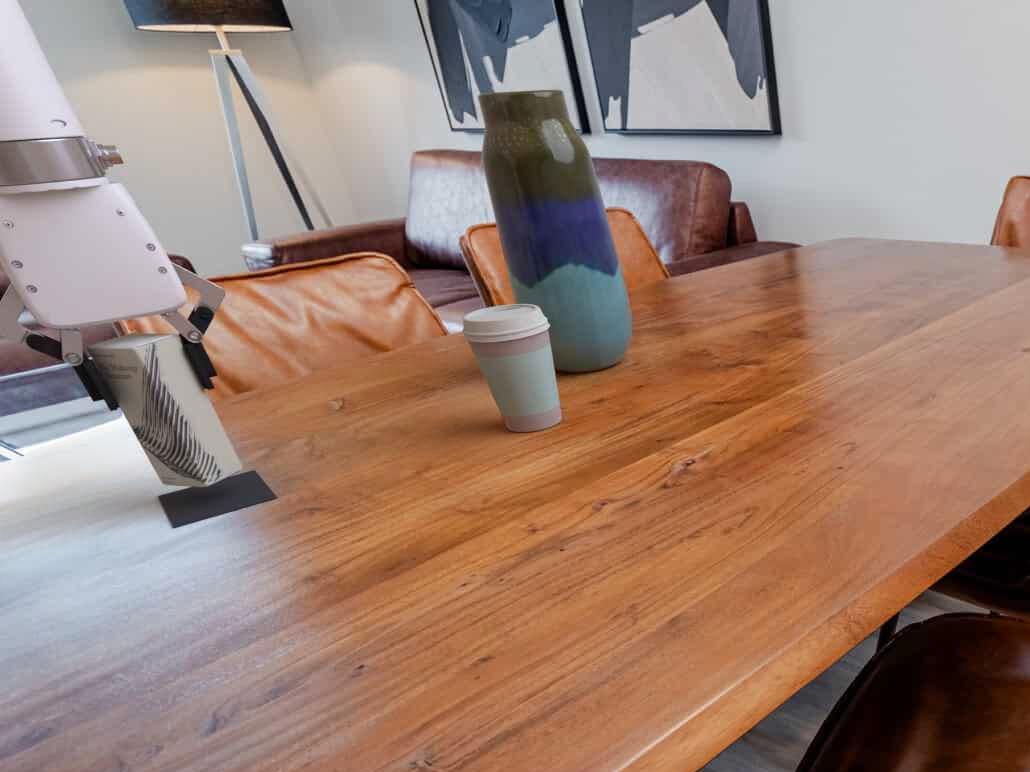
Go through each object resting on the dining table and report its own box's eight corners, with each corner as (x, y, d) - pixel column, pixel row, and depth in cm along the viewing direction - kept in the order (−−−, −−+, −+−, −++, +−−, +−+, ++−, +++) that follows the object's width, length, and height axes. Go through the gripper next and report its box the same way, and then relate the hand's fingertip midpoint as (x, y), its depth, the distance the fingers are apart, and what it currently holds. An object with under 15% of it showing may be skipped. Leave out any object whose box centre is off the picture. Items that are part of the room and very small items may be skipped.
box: (162, 487, 75) (78, 346, 68) (203, 467, 79) (128, 332, 72) (210, 488, 75) (131, 346, 68) (250, 468, 78) (178, 331, 71)
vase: (555, 387, 102) (473, 93, 86) (520, 365, 112) (440, 96, 95) (658, 362, 109) (601, 86, 93) (617, 344, 119) (559, 90, 102)
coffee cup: (584, 408, 95) (556, 300, 89) (560, 434, 88) (528, 319, 81) (510, 412, 95) (477, 305, 89) (481, 439, 88) (442, 324, 81)
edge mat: (173, 528, 72) (173, 527, 72) (157, 496, 79) (157, 496, 79) (277, 497, 77) (277, 496, 77) (254, 470, 83) (254, 469, 83)
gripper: (168, 156, 70) (265, 365, 80) (-119, 178, 60) (31, 414, 70) (182, 158, 66) (283, 380, 75) (-127, 182, 56) (35, 434, 65)
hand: (161, 394), depth 72 cm, fingers closed on box, 6 cm apart
